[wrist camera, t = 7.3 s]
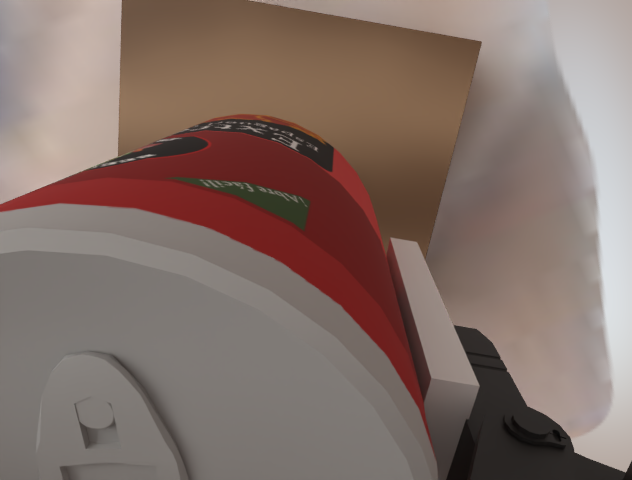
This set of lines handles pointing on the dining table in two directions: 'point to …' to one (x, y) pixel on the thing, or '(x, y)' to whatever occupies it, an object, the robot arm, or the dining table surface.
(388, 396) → the canned food
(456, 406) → the robot arm
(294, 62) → the walnut pedestal
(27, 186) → the dining table surface
